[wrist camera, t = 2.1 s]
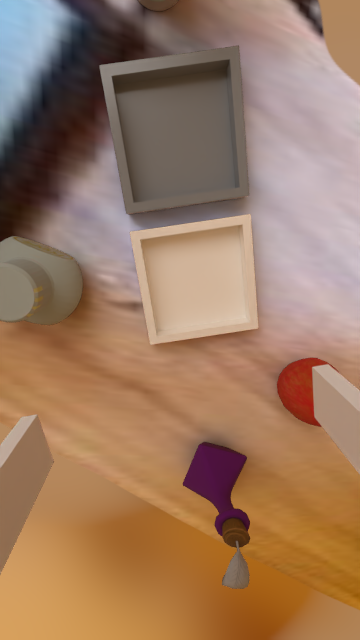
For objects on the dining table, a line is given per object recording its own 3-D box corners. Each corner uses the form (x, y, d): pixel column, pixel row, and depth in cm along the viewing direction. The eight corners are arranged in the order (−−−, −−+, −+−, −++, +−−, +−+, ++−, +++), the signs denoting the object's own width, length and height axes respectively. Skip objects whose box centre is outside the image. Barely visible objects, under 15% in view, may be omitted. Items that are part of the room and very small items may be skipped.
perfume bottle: (197, 430, 47) (216, 548, 30) (242, 441, 48) (286, 562, 31) (181, 468, 49) (190, 600, 32) (224, 479, 50) (257, 612, 33)
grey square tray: (129, 214, 37) (126, 213, 35) (104, 78, 33) (99, 65, 30) (242, 197, 38) (249, 195, 35) (232, 60, 33) (238, 45, 31)
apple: (293, 337, 43) (334, 371, 33) (336, 365, 45) (387, 407, 35) (257, 381, 45) (285, 427, 35) (299, 407, 47) (338, 458, 36)
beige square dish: (151, 337, 42) (150, 344, 39) (132, 231, 38) (129, 231, 35) (252, 321, 42) (258, 328, 39) (244, 215, 38) (250, 214, 35)
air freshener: (96, 263, 39) (74, 275, 29) (76, 321, 41) (50, 350, 31) (8, 229, 37) (-45, 230, 28) (-7, 291, 39) (-62, 312, 30)
